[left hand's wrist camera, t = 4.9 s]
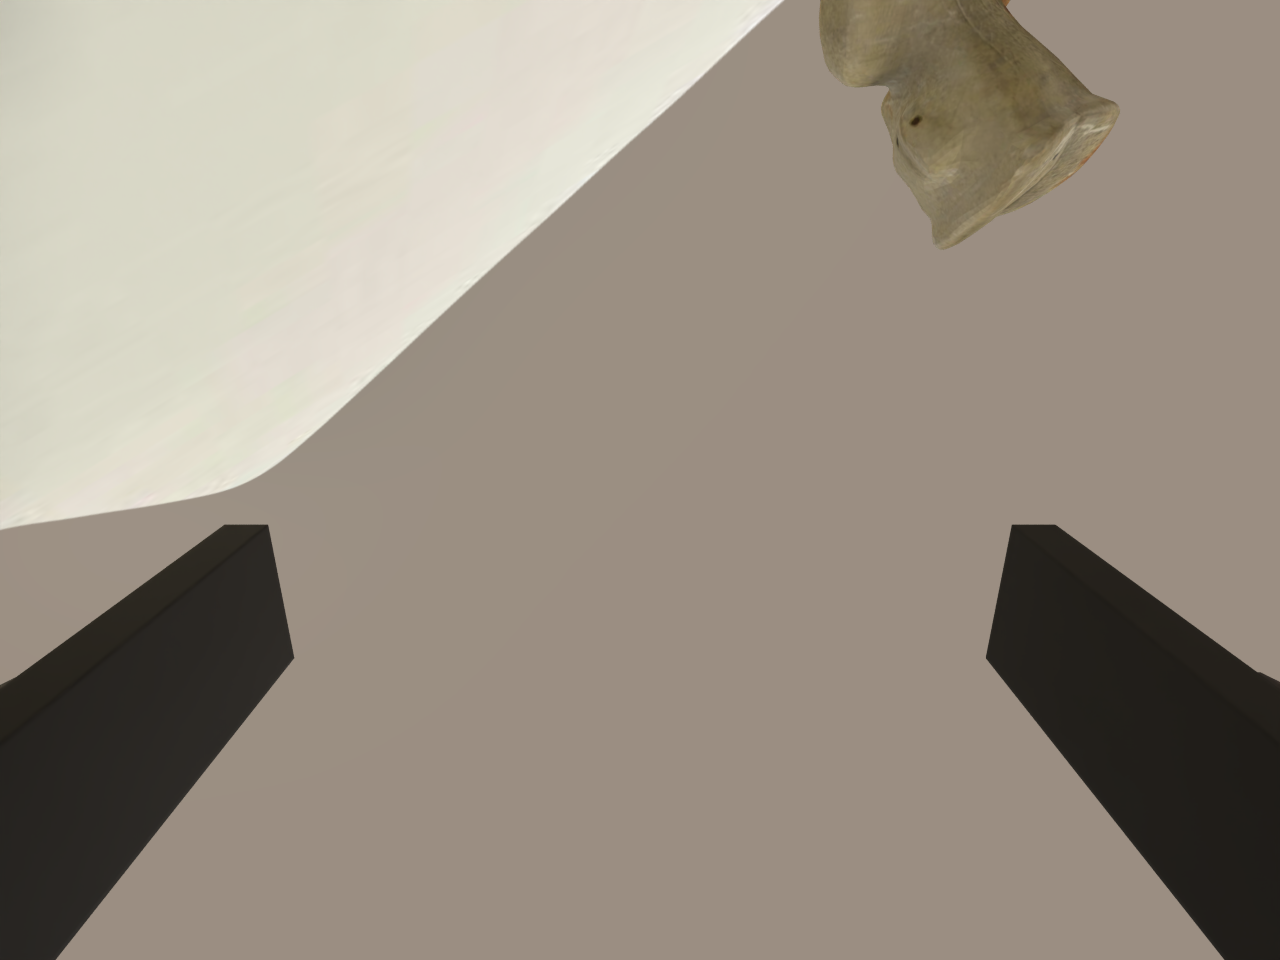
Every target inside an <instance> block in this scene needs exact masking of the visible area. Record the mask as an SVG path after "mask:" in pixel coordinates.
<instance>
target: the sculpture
mask: <svg viewBox="0 0 1280 960" xmlns="http://www.w3.org/2000/svg"><path fill="white" fill-rule="evenodd" d="M1009 1H1010V0H821V2H820V13H819V26H820V39H821V44H822V49H823V54H824V59H825V63H826V65H827V67H828V69H829V71H830V72H831V73H832V74H833V76H834V77H835V78H836V79H837V80H839V81H840V82H841V83H842V84H844V85H846V86H849V87H867V86H875V85H880V86H887V87H888V88H889V91H888V93H887V95H886V96H885V98H884V100H883V102H882V105H881V113H882V116H883V119H884V121H885V123H886V126H887V128H888V131H889V134H890V137H891V140H892V144H893V164H894V167H895V170H896V172H897V173H898V175H899V176H900V177H901V178H902V180H903V181H904V182H905V183H906V184H907V186H908V187H909V188H910V189H911V191H912V193H913V194H914V196H915V197H916V199H917V201H918V203H919V205H920V207H921V209H922V210H923V211H924V212H925V213H926V214H927V216H928V217H929V218H930V220H931V223H932V239H933V244H934V245H935V247H936V248H938V249H941V250H944V249H947V248H950V247H952V246H954V245H956V244H958V243H960V242H962V241H963V240H965V239H966V238H968V237H969V236H971V235H972V234H974V233H975V232H976V231H978V230H979V229H981V228H982V227H983V226H985V225H986V224H988V223H989V222H990V221H992V220H993V219H994V218H995V217H997V216H1000V215H1003V214H1006V213H1009V212H1012V211H1015V210H1017V209H1019V208H1022V207H1024V206H1026V205H1028V204H1030V203H1032V202H1033V201H1035V200H1037V199H1038V198H1040V197H1042V196H1043V195H1045V194H1047V193H1048V192H1050V191H1051V190H1053V189H1054V188H1056V187H1057V186H1059V185H1060V184H1061V183H1063V182H1064V181H1065V180H1067V179H1068V178H1069V177H1071V176H1072V175H1073V174H1074V173H1075V172H1077V171H1078V170H1079V169H1080V168H1081V167H1082V166H1083V165H1084V164H1085V162H1086V161H1087V160H1088V159H1089V158H1090V157H1091V156H1092V155H1093V153H1094V152H1095V151H1096V150H1097V149H1098V147H1099V146H1100V145H1101V144H1102V142H1103V141H1104V139H1105V138H1106V137H1107V135H1108V134H1109V133H1110V131H1111V129H1112V128H1113V126H1114V124H1115V122H1116V120H1117V118H1118V116H1119V113H1120V109H1119V106H1118V105H1117V104H1116V103H1115V102H1113V101H1110V100H1108V99H1105V98H1102V97H1100V96H1097V95H1094V94H1092V93H1091V92H1090V91H1089V90H1088V89H1087V88H1086V87H1085V86H1084V85H1083V84H1082V83H1081V82H1080V81H1079V80H1078V79H1077V78H1076V77H1075V76H1074V75H1073V74H1072V72H1070V70H1069V69H1068V68H1067V67H1066V66H1065V65H1064V64H1063V63H1062V62H1061V61H1060V60H1059V59H1058V58H1057V57H1056V56H1055V55H1054V54H1053V53H1052V52H1050V51H1049V50H1048V49H1047V48H1046V47H1045V46H1044V45H1042V44H1041V43H1040V42H1039V41H1038V40H1037V39H1036V38H1035V37H1033V36H1032V35H1031V34H1030V33H1029V32H1028V31H1026V30H1025V29H1024V28H1023V27H1022V26H1021V25H1020V24H1019V23H1018V22H1017V20H1016V19H1015V18H1014V17H1013V16H1012V15H1011V13H1010V12H1009V11H1008V9H1007V8H1006V6H1007V4H1008V3H1009Z"/></svg>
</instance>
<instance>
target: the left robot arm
mask: <svg viewBox="0 0 1280 960" xmlns="http://www.w3.org/2000/svg"><path fill="white" fill-rule="evenodd" d="M293 659H294V654H293V649H292V644H291V639H290V634H289V629H288V624H287V619H286V614H285V609H284V604H283V598H282V593H281V588H280V583H279V578H278V573H277V568H276V563H275V558H274V553H273V547H272V542H271V537H270V532H269V527H268V525H224V526H222V527H221V528H219V529H218V530H217V531H215V532H214V533H213V534H211V535H210V536H209V537H207V538H206V539H204V540H203V541H202V542H200V543H199V544H198V545H196V546H195V547H193V548H192V549H191V550H189V551H188V552H187V553H185V554H184V555H183V556H181V557H180V558H178V559H177V560H176V561H174V562H173V563H172V564H170V565H169V566H167V567H166V568H165V569H163V570H162V571H161V572H159V573H158V574H157V575H155V576H154V577H152V578H151V579H150V580H148V581H147V582H146V583H144V584H143V585H142V586H140V587H139V588H137V589H136V590H135V591H133V592H132V593H131V594H129V595H128V596H127V597H125V598H124V599H122V600H121V601H120V602H118V603H117V604H116V605H114V606H113V607H111V608H110V609H109V610H107V611H106V612H105V613H103V614H102V615H101V616H99V617H98V618H96V619H95V620H94V621H92V622H91V623H90V624H88V625H87V626H85V627H84V628H83V629H81V630H80V631H79V632H77V633H76V634H75V635H73V636H72V637H70V638H69V639H68V640H66V641H65V642H64V643H62V644H61V645H60V646H58V647H57V648H55V649H54V650H53V651H51V652H50V653H49V654H47V655H46V656H44V657H43V658H42V659H40V660H39V661H38V662H36V663H35V664H34V665H32V666H31V667H30V668H28V669H27V670H25V671H24V672H23V673H21V674H20V675H18V676H17V677H15V678H13V679H11V680H9V681H7V682H5V683H3V684H1V685H0V960H56V959H57V957H58V956H59V955H60V953H61V952H62V951H63V950H64V948H65V947H66V946H67V945H68V943H69V942H70V941H71V940H72V938H73V937H74V936H75V934H76V933H77V932H78V931H79V929H80V928H81V927H82V926H83V924H84V923H85V922H86V921H87V919H88V918H89V917H90V915H91V914H92V913H93V912H94V910H95V909H96V908H97V907H98V905H99V904H100V903H101V902H102V900H103V899H104V898H105V897H106V895H107V894H108V893H109V891H110V890H111V889H112V888H113V886H114V885H115V884H116V883H117V881H118V880H119V879H120V878H121V876H122V875H123V874H124V873H125V871H126V870H127V869H128V867H129V866H130V865H131V864H132V862H133V861H134V860H135V859H136V857H137V856H138V855H139V854H140V852H141V851H142V850H143V848H144V847H145V846H146V845H147V843H148V842H149V841H150V840H151V838H152V837H153V836H154V835H155V833H156V832H157V831H158V830H159V828H160V827H161V826H162V825H163V823H164V822H165V821H166V819H167V818H168V817H169V816H170V814H171V813H172V812H173V811H174V809H175V808H176V807H177V805H178V804H179V803H180V802H181V800H182V799H183V798H184V797H185V795H186V794H187V793H188V792H189V790H190V789H191V788H192V787H193V785H194V784H195V783H196V782H197V780H198V779H199V778H200V776H201V775H202V774H203V773H204V771H205V770H206V769H207V768H208V766H209V765H210V764H211V763H212V761H213V760H214V759H215V758H216V756H217V755H218V754H219V752H220V751H221V750H222V749H223V747H224V746H225V745H226V744H227V742H228V741H229V740H230V738H231V737H232V736H233V735H234V733H235V732H236V731H237V730H238V728H239V727H240V726H241V725H242V723H243V722H244V721H245V720H246V718H247V717H248V716H249V715H250V713H251V712H252V711H253V709H254V708H255V707H256V706H257V704H258V703H259V702H260V701H261V699H262V698H263V697H264V696H265V694H266V693H267V692H268V691H269V689H270V688H271V687H272V685H273V684H274V683H275V682H276V680H277V679H278V678H279V677H280V675H281V674H282V673H283V672H284V670H285V669H286V668H287V666H288V665H289V664H290V663H291V661H292V660H293ZM986 659H987V660H988V661H989V663H990V664H991V665H992V666H993V668H994V669H995V670H996V672H997V673H998V674H999V675H1000V677H1001V678H1002V679H1003V680H1004V682H1005V683H1006V684H1007V685H1008V687H1009V688H1010V689H1011V690H1012V692H1013V693H1014V694H1015V696H1016V697H1017V698H1018V699H1019V701H1020V702H1021V703H1022V704H1023V706H1024V707H1025V708H1026V709H1027V711H1028V712H1029V713H1030V715H1031V716H1032V717H1033V718H1034V720H1035V721H1036V722H1037V723H1038V725H1039V726H1040V727H1041V728H1042V730H1043V731H1044V732H1045V733H1046V735H1047V736H1048V737H1049V739H1050V740H1051V741H1052V742H1053V744H1054V745H1055V746H1056V747H1057V749H1058V750H1059V751H1060V752H1061V754H1062V755H1063V756H1064V758H1065V759H1066V760H1067V761H1068V763H1069V764H1070V765H1071V766H1072V768H1073V769H1074V770H1075V771H1076V773H1077V774H1078V775H1079V776H1080V778H1081V779H1082V780H1083V781H1084V783H1085V784H1086V785H1087V787H1088V788H1089V789H1090V790H1091V792H1092V793H1093V794H1094V795H1095V797H1096V798H1097V799H1098V800H1099V802H1100V803H1101V804H1102V805H1103V807H1104V808H1105V809H1106V811H1107V812H1108V813H1109V814H1110V816H1111V817H1112V818H1113V819H1114V821H1115V822H1116V823H1117V824H1118V826H1119V827H1120V828H1121V830H1122V831H1123V832H1124V833H1125V835H1126V836H1127V837H1128V838H1129V840H1130V841H1131V842H1132V843H1133V845H1134V846H1135V847H1136V849H1137V850H1138V851H1139V852H1140V854H1141V855H1142V856H1143V857H1144V859H1145V860H1146V861H1147V862H1148V864H1149V865H1150V866H1151V867H1152V869H1153V870H1154V871H1155V873H1156V874H1157V875H1158V876H1159V878H1160V879H1161V880H1162V881H1163V883H1164V884H1165V885H1166V886H1167V888H1168V889H1169V890H1170V892H1171V893H1172V894H1173V895H1174V897H1175V898H1176V899H1177V900H1178V902H1179V903H1180V904H1181V905H1182V907H1183V908H1184V909H1185V910H1186V912H1187V913H1188V914H1189V916H1190V917H1191V918H1192V919H1193V921H1194V922H1195V923H1196V924H1197V926H1198V927H1199V928H1200V929H1201V931H1202V932H1203V933H1204V934H1205V936H1206V937H1207V938H1208V940H1209V941H1210V942H1211V943H1212V945H1213V946H1214V947H1215V948H1216V950H1217V951H1218V952H1219V953H1220V955H1221V956H1222V957H1223V958H1224V960H1280V682H1279V681H1277V680H1275V679H1273V678H1271V677H1269V676H1267V675H1265V674H1263V673H1260V672H1256V671H1255V670H1253V669H1252V668H1251V667H1249V666H1248V665H1246V664H1245V663H1244V662H1242V661H1241V660H1240V659H1238V658H1237V657H1236V656H1234V655H1233V654H1231V653H1230V652H1229V651H1227V650H1226V649H1225V648H1223V647H1222V646H1221V645H1219V644H1218V643H1216V642H1215V641H1214V640H1212V639H1211V638H1209V637H1208V636H1207V635H1205V634H1204V633H1203V632H1201V631H1200V630H1199V629H1197V628H1196V627H1195V626H1193V625H1192V624H1190V623H1189V622H1188V621H1186V620H1185V619H1183V618H1182V617H1181V616H1179V615H1178V614H1177V613H1175V612H1174V611H1173V610H1171V609H1170V608H1169V607H1167V606H1166V605H1164V604H1163V603H1162V602H1160V601H1159V600H1158V599H1156V598H1155V597H1153V596H1152V595H1151V594H1149V593H1148V592H1147V591H1145V590H1144V589H1143V588H1141V587H1140V586H1138V585H1137V584H1136V583H1134V582H1133V581H1132V580H1130V579H1129V578H1127V577H1126V576H1125V575H1123V574H1122V573H1121V572H1119V571H1118V570H1117V569H1115V568H1114V567H1112V566H1111V565H1110V564H1108V563H1107V562H1106V561H1104V560H1103V559H1101V558H1100V557H1099V556H1097V555H1096V554H1095V553H1093V552H1092V551H1091V550H1089V549H1088V548H1087V547H1085V546H1084V545H1082V544H1081V543H1080V542H1078V541H1077V540H1076V539H1074V538H1073V537H1071V536H1070V535H1069V534H1067V533H1066V532H1065V531H1063V530H1062V529H1061V528H1059V527H1058V526H1056V525H1012V527H1011V532H1010V537H1009V542H1008V547H1007V553H1006V558H1005V563H1004V568H1003V573H1002V578H1001V583H1000V588H999V593H998V598H997V604H996V609H995V614H994V619H993V624H992V629H991V634H990V639H989V644H988V649H987V654H986Z"/></svg>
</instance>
